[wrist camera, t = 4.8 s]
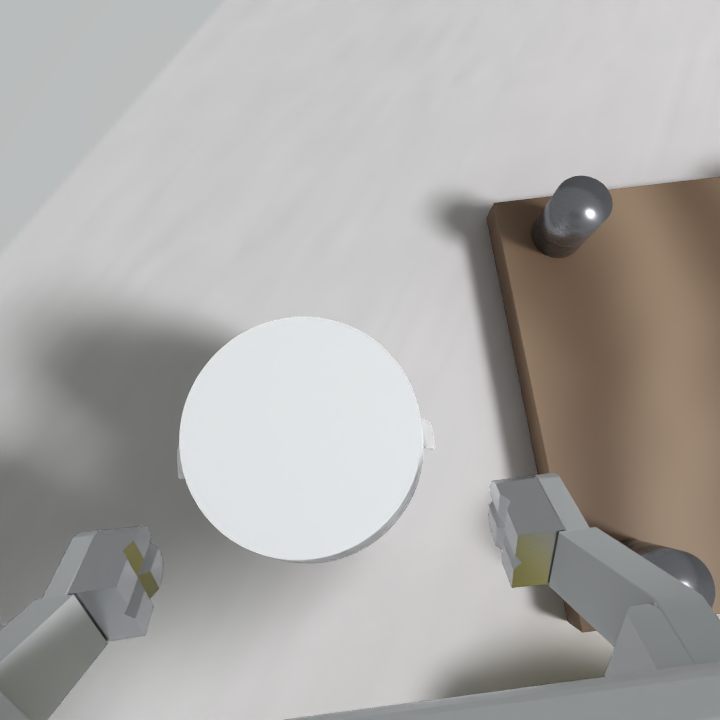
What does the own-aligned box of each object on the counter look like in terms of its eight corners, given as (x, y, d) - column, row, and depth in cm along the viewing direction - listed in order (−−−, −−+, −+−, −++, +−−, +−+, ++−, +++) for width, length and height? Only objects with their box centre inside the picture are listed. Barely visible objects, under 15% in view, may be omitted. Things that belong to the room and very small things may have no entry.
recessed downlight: (221, 563, 18) (85, 667, 8) (211, 377, 20) (85, 280, 10) (435, 534, 19) (542, 599, 9) (408, 355, 20) (474, 243, 10)
